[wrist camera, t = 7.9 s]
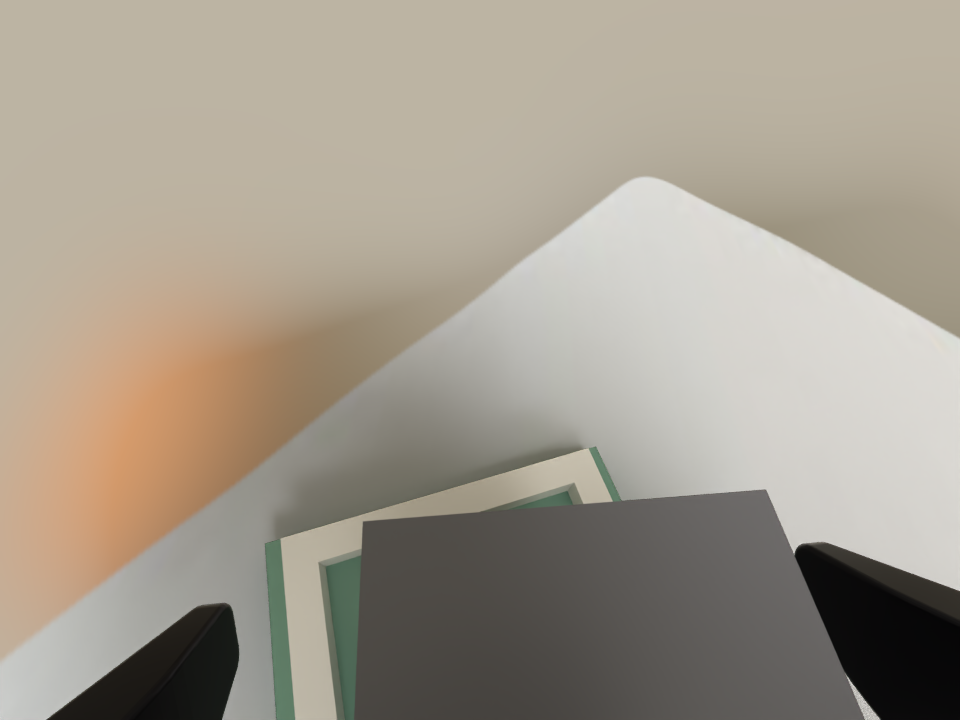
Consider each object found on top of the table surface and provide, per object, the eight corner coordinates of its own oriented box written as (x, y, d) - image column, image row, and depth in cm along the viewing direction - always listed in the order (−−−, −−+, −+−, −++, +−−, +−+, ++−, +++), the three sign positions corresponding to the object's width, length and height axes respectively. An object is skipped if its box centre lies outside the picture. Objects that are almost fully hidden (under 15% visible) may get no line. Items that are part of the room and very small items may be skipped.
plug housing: (583, 748, 12) (1022, 1087, 3) (418, 771, 12) (329, 1266, 2) (556, 586, 14) (765, 489, 5) (415, 600, 14) (363, 521, 5)
